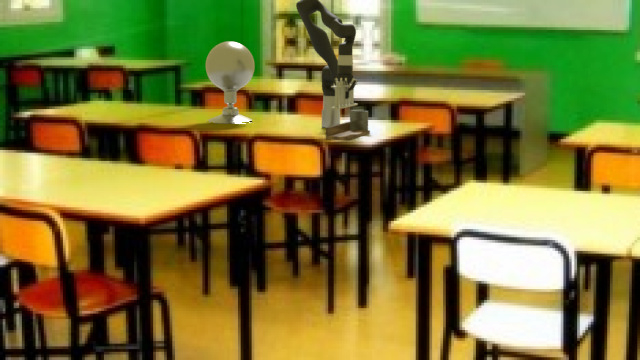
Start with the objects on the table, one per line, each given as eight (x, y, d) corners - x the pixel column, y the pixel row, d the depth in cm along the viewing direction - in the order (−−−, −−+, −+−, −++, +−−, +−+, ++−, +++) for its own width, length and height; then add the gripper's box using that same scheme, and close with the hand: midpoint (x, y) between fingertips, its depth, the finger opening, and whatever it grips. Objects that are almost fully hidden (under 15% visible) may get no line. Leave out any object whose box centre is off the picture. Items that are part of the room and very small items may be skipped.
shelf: (325, 138, 501) (325, 115, 499) (348, 132, 529) (348, 110, 527) (348, 140, 496) (348, 116, 494) (369, 133, 524) (370, 111, 523)
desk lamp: (203, 123, 564) (202, 42, 557) (209, 117, 592) (208, 40, 584) (252, 123, 564) (252, 42, 556) (256, 118, 591) (256, 40, 583)
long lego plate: (349, 104, 521) (350, 79, 518) (357, 105, 519) (358, 79, 517) (330, 108, 498) (330, 82, 496) (338, 109, 496) (339, 82, 494)
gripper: (329, 64, 505) (329, 98, 508) (355, 65, 499) (354, 100, 502) (335, 63, 511) (335, 97, 514) (360, 64, 506) (360, 98, 509)
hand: (344, 98), depth 508 cm, fingers closed on long lego plate
